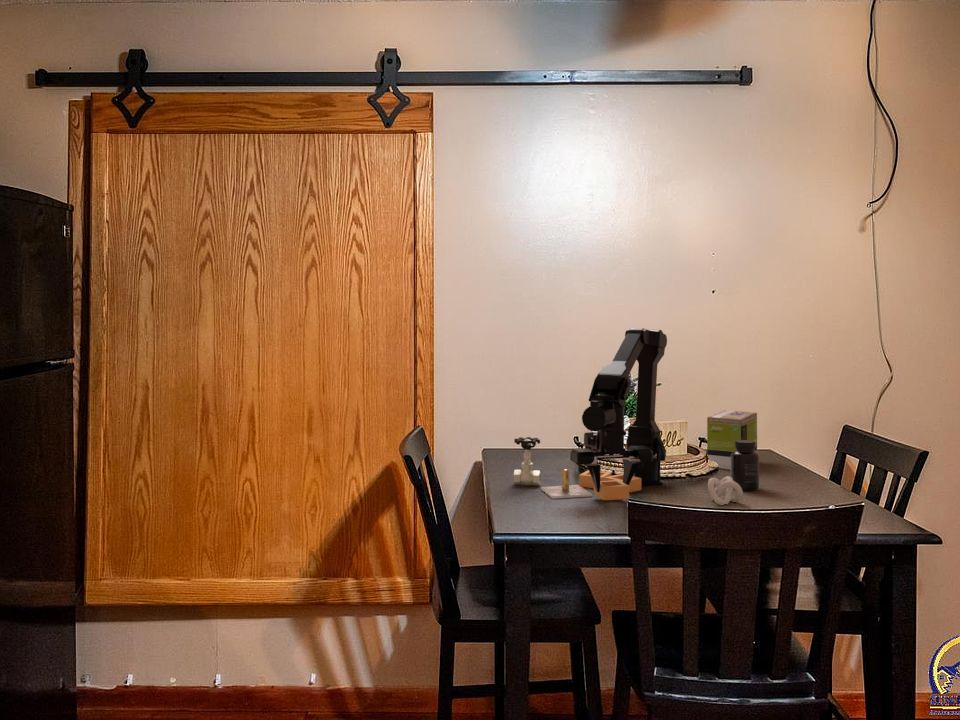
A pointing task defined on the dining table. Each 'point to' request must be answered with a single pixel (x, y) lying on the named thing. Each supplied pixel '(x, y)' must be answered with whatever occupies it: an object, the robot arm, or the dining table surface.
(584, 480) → the chain link
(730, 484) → the knot
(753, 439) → the tea box
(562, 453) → the dining table surface
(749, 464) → the supplement bottle
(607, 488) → the end link
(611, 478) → the chain link
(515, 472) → the valve
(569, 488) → the plate with brass peg
